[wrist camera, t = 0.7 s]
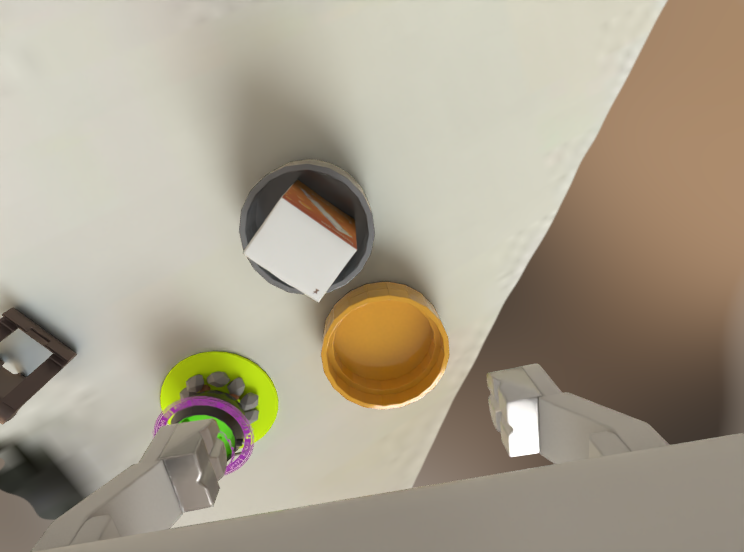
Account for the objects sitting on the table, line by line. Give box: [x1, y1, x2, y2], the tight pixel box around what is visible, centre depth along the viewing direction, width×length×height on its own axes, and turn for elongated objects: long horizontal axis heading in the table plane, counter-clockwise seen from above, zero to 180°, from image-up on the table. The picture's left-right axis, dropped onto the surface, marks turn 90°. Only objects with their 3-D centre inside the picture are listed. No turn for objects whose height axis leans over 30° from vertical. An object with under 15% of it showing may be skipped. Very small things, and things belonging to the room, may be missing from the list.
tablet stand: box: [0, 308, 77, 424], centre depth 51 cm, size 9×8×8 cm
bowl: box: [321, 282, 449, 410], centre depth 54 cm, size 15×15×5 cm
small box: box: [243, 180, 357, 302], centre depth 45 cm, size 8×6×13 cm
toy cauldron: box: [152, 351, 278, 475], centre depth 53 cm, size 15×15×11 cm
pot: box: [239, 159, 375, 295], centre depth 49 cm, size 14×14×6 cm
